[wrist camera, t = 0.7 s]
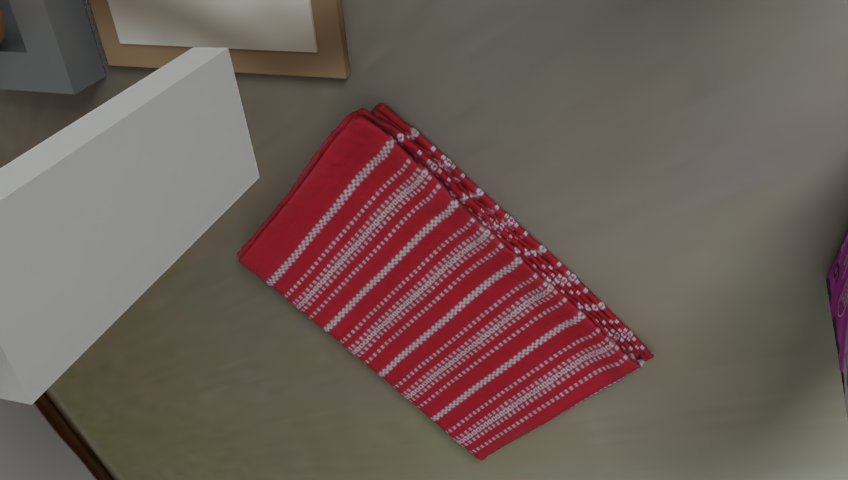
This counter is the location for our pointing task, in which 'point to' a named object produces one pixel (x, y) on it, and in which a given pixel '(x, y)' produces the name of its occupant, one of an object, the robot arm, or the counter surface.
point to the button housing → (48, 47)
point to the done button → (2, 27)
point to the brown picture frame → (228, 33)
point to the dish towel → (437, 286)
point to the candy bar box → (840, 309)
